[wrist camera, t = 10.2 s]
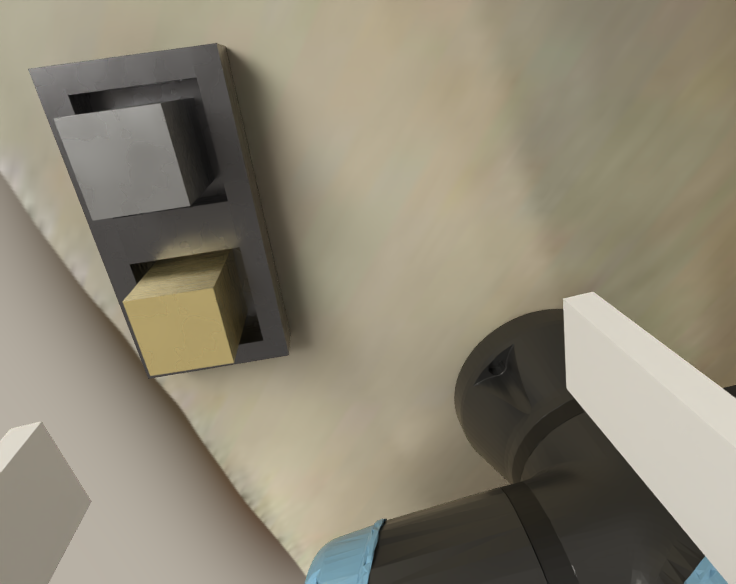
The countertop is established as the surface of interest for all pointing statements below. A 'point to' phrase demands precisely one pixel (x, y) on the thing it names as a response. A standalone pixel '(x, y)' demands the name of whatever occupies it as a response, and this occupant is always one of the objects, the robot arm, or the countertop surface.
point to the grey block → (138, 157)
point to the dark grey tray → (210, 210)
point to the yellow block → (188, 312)
